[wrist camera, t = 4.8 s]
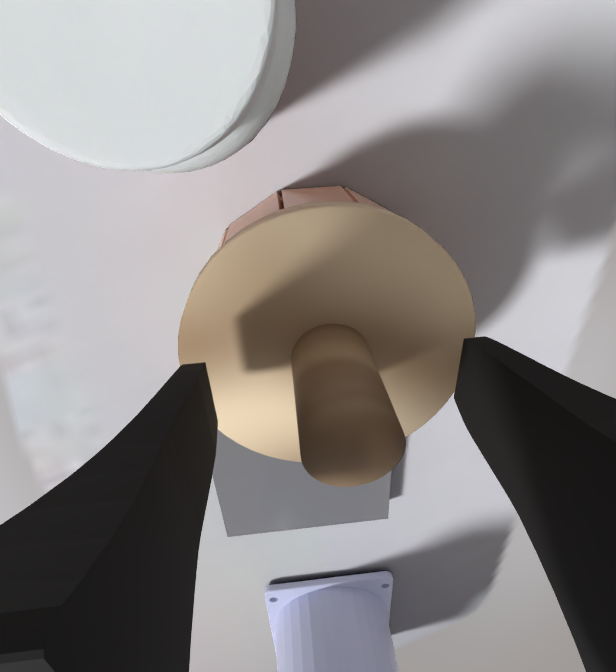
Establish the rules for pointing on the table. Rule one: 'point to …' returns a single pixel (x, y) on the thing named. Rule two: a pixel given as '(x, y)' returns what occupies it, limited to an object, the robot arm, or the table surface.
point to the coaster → (286, 494)
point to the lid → (328, 336)
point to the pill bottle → (144, 77)
